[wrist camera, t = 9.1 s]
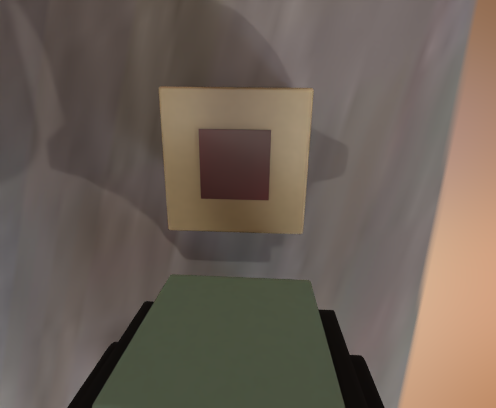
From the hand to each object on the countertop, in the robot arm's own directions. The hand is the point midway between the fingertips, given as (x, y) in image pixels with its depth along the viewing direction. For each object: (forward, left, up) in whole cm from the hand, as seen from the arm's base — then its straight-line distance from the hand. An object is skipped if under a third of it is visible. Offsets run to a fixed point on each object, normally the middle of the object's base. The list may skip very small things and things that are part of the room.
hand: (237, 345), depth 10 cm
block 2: (0, 0, -1) cm, 1 cm away
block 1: (0, +6, -6) cm, 8 cm away
